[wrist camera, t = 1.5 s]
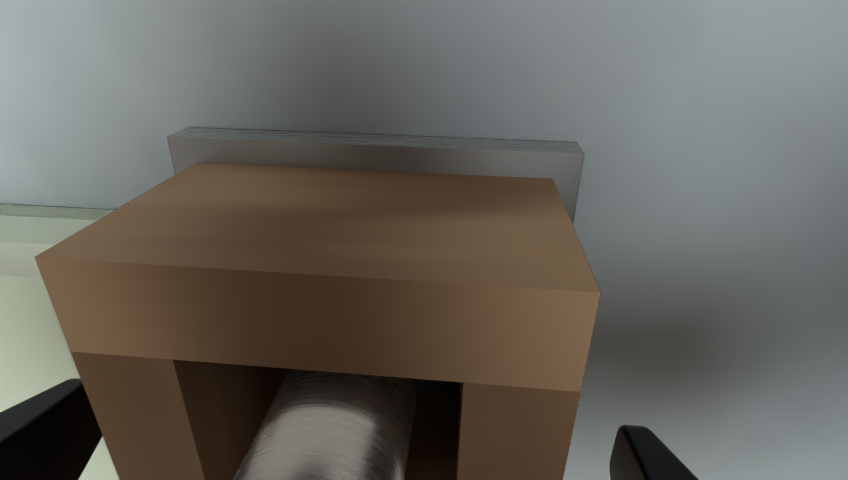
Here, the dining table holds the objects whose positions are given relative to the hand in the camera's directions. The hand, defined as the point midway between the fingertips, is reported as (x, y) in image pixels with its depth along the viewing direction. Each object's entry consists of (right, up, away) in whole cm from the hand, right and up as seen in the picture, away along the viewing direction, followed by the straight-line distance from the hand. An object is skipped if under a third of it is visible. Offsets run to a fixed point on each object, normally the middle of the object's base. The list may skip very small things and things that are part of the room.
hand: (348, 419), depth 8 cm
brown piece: (0, +1, +3) cm, 3 cm away
